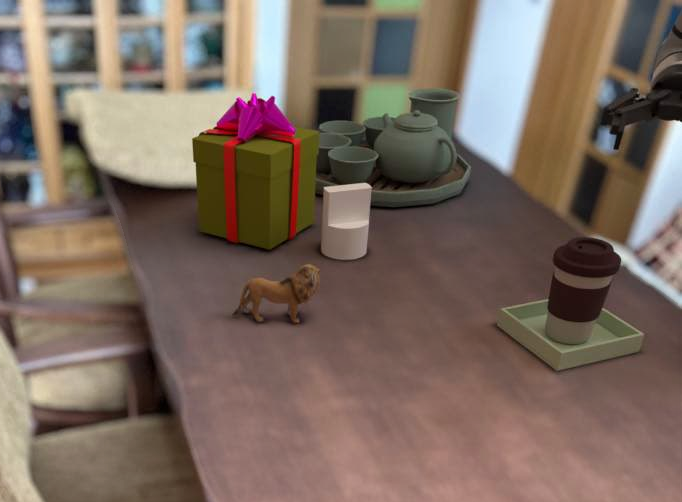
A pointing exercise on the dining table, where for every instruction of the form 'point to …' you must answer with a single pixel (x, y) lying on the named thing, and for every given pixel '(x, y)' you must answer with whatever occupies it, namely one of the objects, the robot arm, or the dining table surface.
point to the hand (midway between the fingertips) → (665, 146)
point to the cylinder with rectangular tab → (345, 221)
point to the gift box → (255, 175)
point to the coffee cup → (579, 288)
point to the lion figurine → (281, 291)
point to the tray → (603, 344)
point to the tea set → (397, 153)
